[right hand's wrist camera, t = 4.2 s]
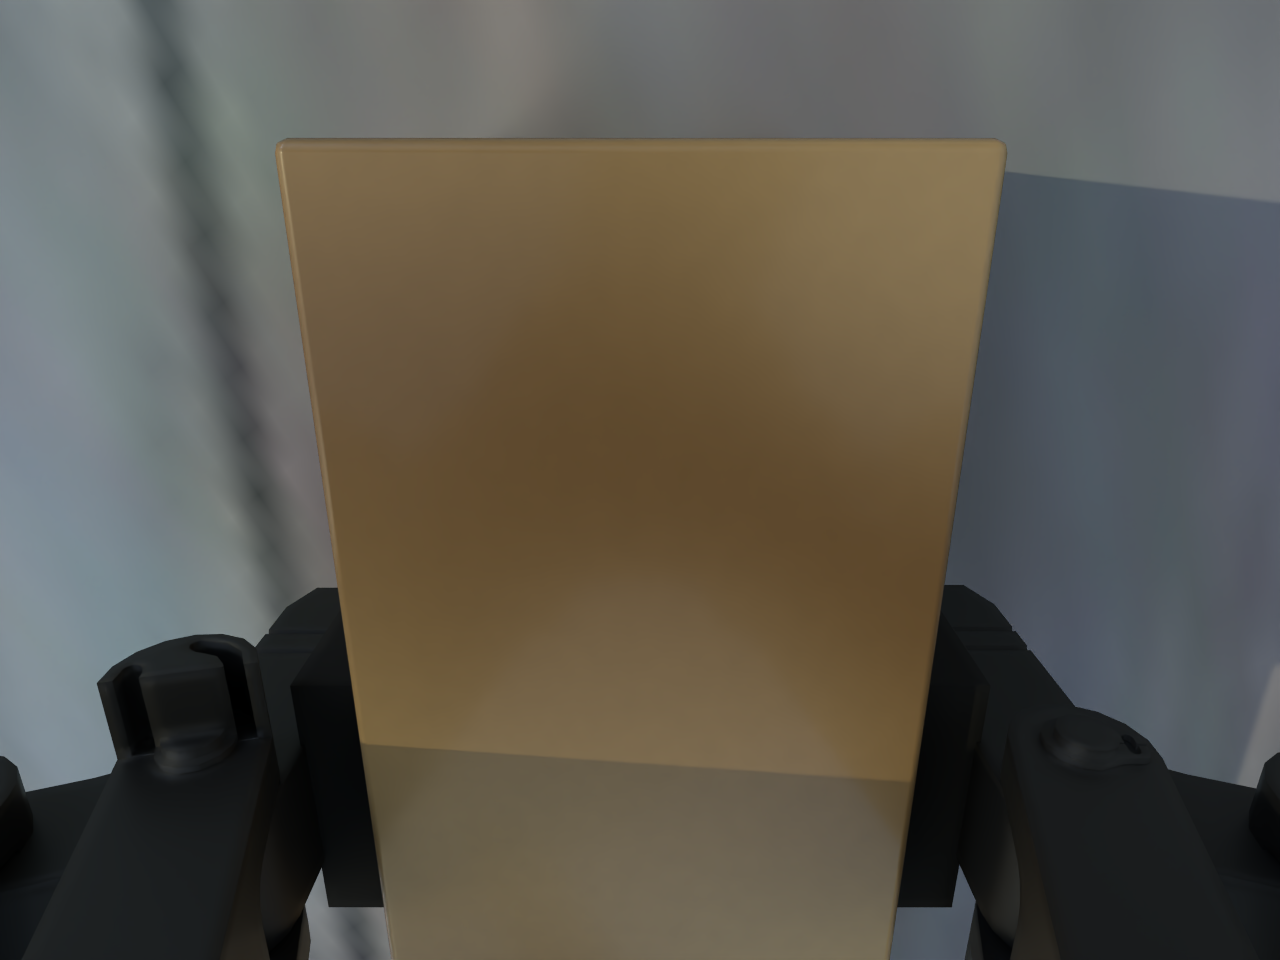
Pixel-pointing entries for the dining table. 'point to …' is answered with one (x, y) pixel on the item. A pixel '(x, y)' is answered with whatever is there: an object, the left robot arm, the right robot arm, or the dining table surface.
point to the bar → (640, 522)
